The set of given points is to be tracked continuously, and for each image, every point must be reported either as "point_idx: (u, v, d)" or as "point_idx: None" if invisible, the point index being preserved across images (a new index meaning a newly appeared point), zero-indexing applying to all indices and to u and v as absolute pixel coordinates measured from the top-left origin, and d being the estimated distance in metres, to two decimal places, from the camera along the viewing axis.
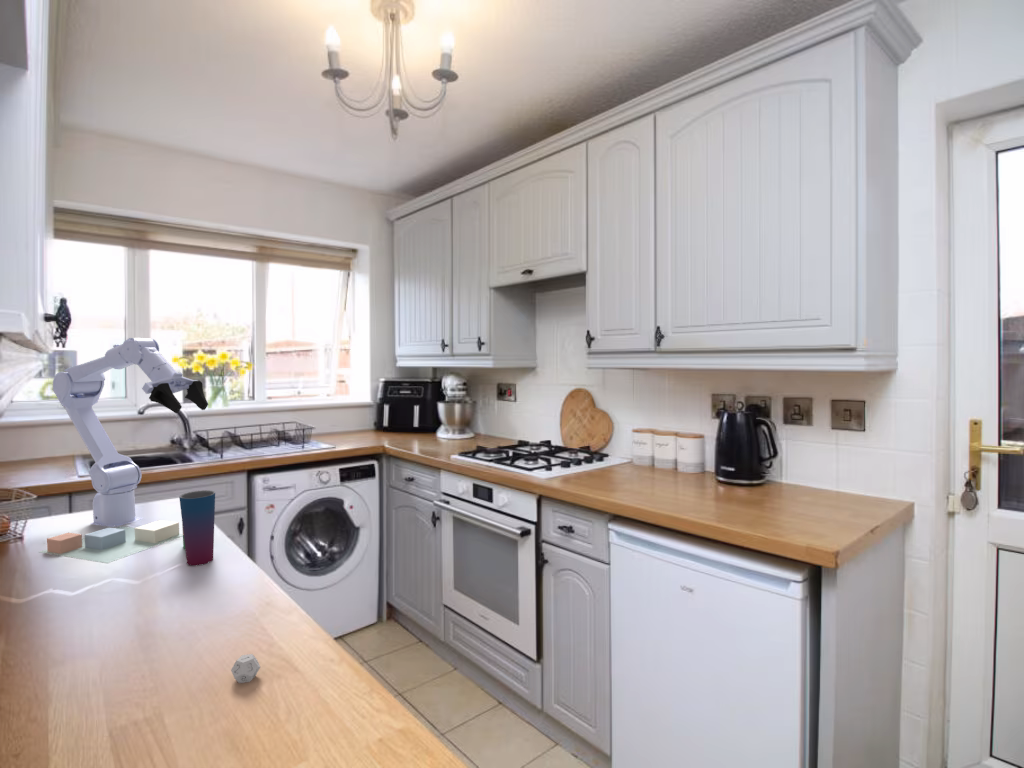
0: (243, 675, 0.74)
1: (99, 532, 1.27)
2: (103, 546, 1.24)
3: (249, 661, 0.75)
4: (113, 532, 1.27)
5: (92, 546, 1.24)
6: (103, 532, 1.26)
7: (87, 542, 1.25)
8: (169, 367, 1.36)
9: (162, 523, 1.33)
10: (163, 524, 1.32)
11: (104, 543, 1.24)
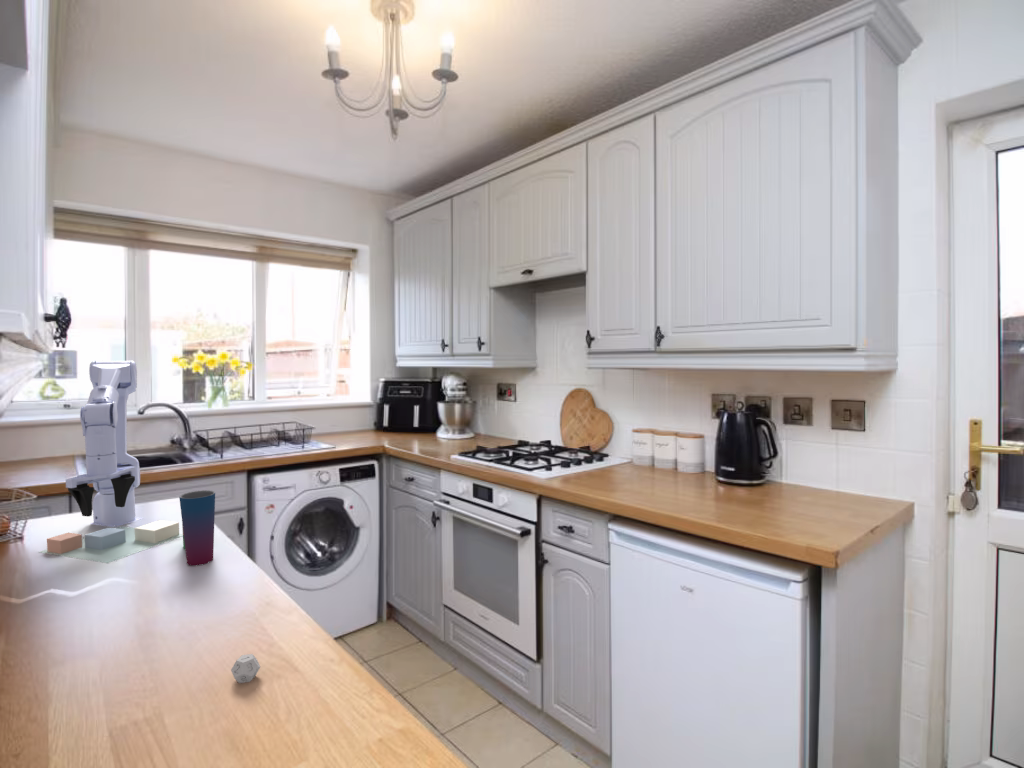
0: (243, 675, 0.74)
1: (99, 532, 1.27)
2: (103, 546, 1.24)
3: (249, 661, 0.75)
4: (113, 532, 1.27)
5: (92, 546, 1.24)
6: (103, 532, 1.26)
7: (87, 542, 1.25)
8: (111, 459, 1.25)
9: (162, 523, 1.33)
10: (163, 524, 1.32)
11: (104, 543, 1.24)
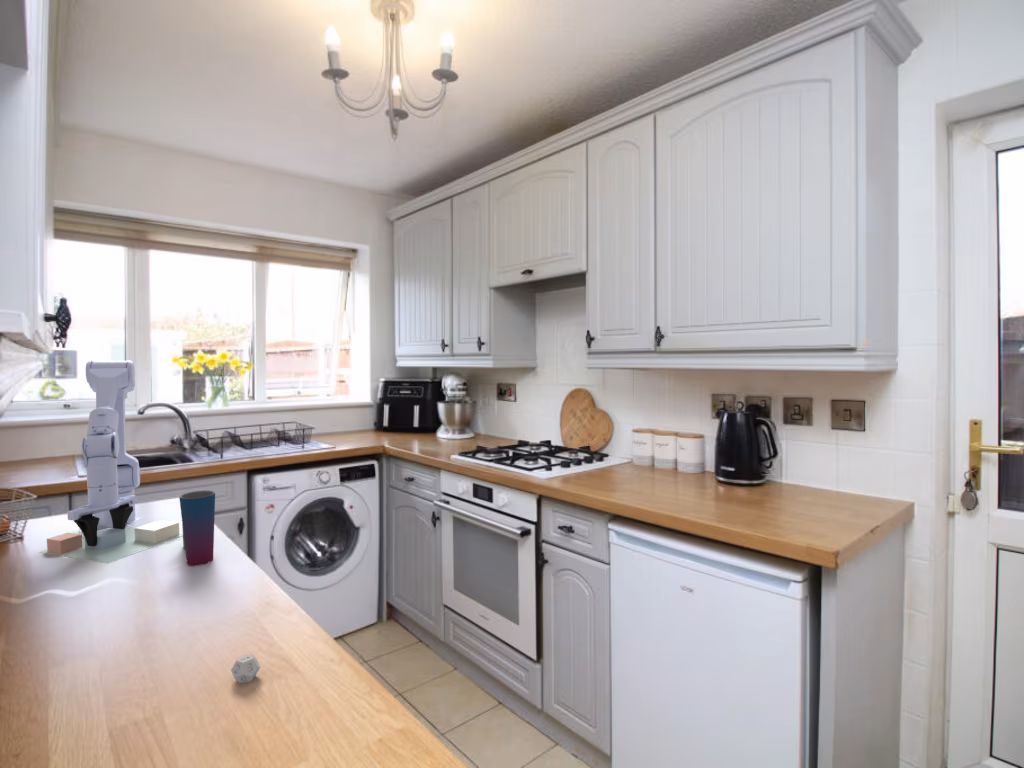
0: (243, 675, 0.74)
1: (99, 532, 1.27)
2: (103, 546, 1.24)
3: (249, 661, 0.75)
4: (113, 532, 1.27)
5: None
6: (103, 532, 1.26)
7: None
8: (112, 490, 1.26)
9: (162, 523, 1.33)
10: (163, 524, 1.32)
11: (104, 543, 1.24)
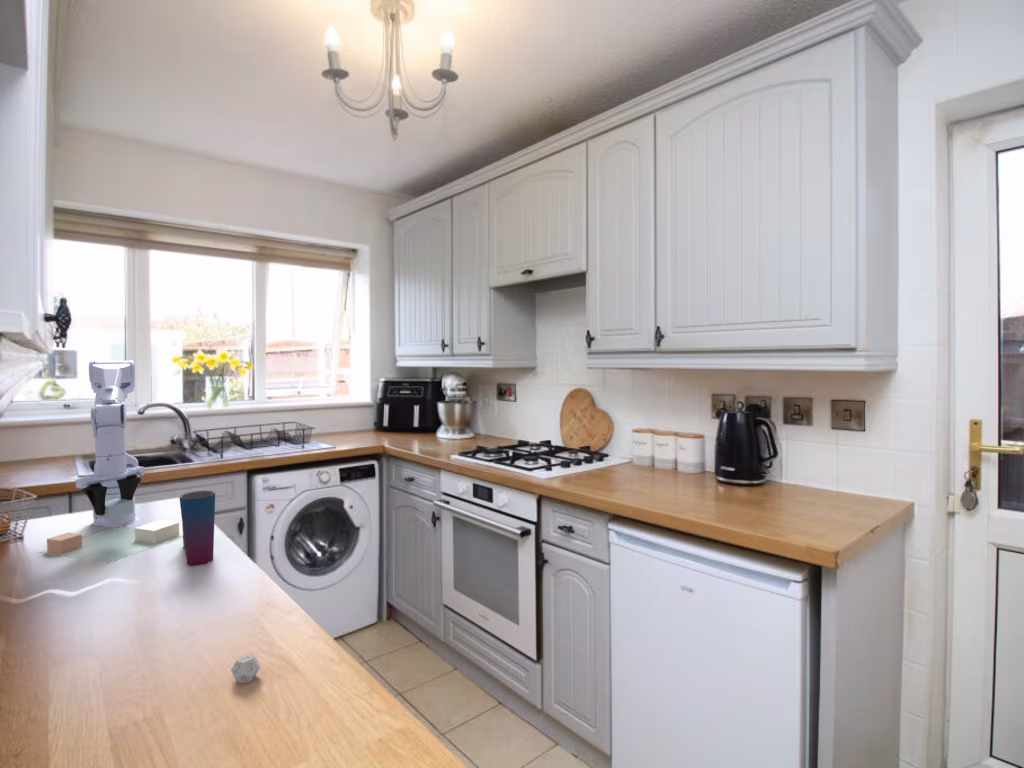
0: (243, 675, 0.74)
1: (107, 502, 1.27)
2: (111, 515, 1.24)
3: (249, 661, 0.75)
4: (121, 502, 1.27)
5: (100, 516, 1.25)
6: (111, 503, 1.27)
7: None
8: (120, 460, 1.26)
9: (162, 523, 1.33)
10: (163, 524, 1.32)
11: (112, 512, 1.24)
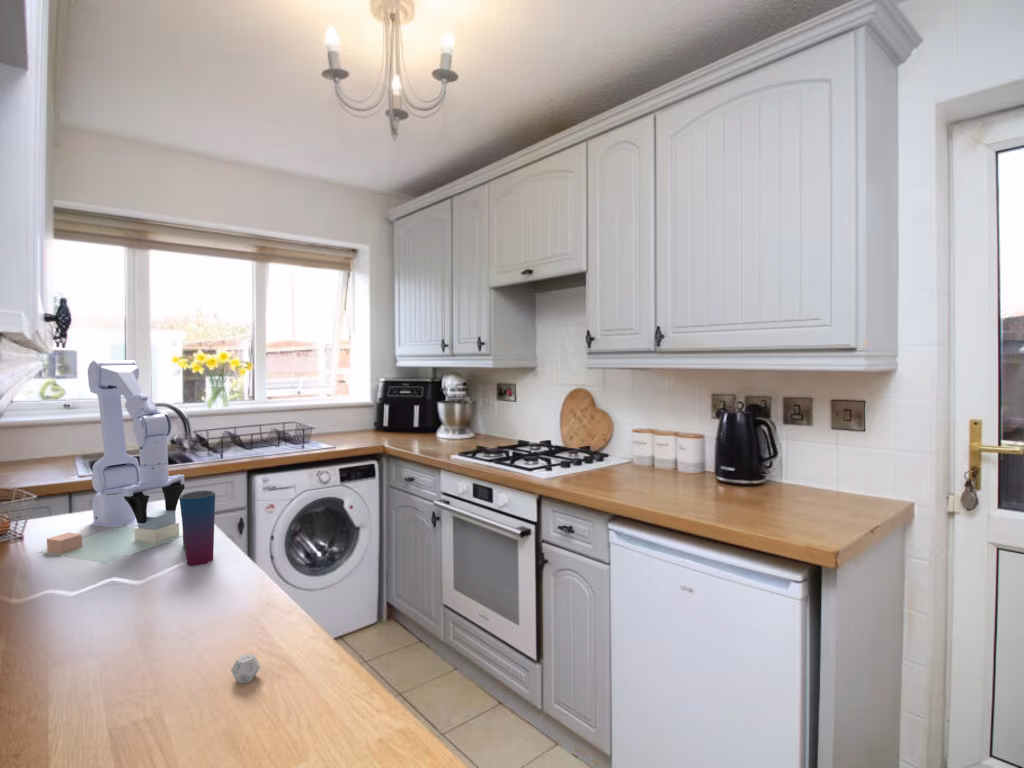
0: (243, 675, 0.74)
1: (151, 513, 1.31)
2: (156, 526, 1.29)
3: (249, 661, 0.75)
4: (164, 513, 1.31)
5: (145, 526, 1.29)
6: (155, 513, 1.31)
7: None
8: (163, 468, 1.30)
9: None
10: None
11: (156, 523, 1.29)
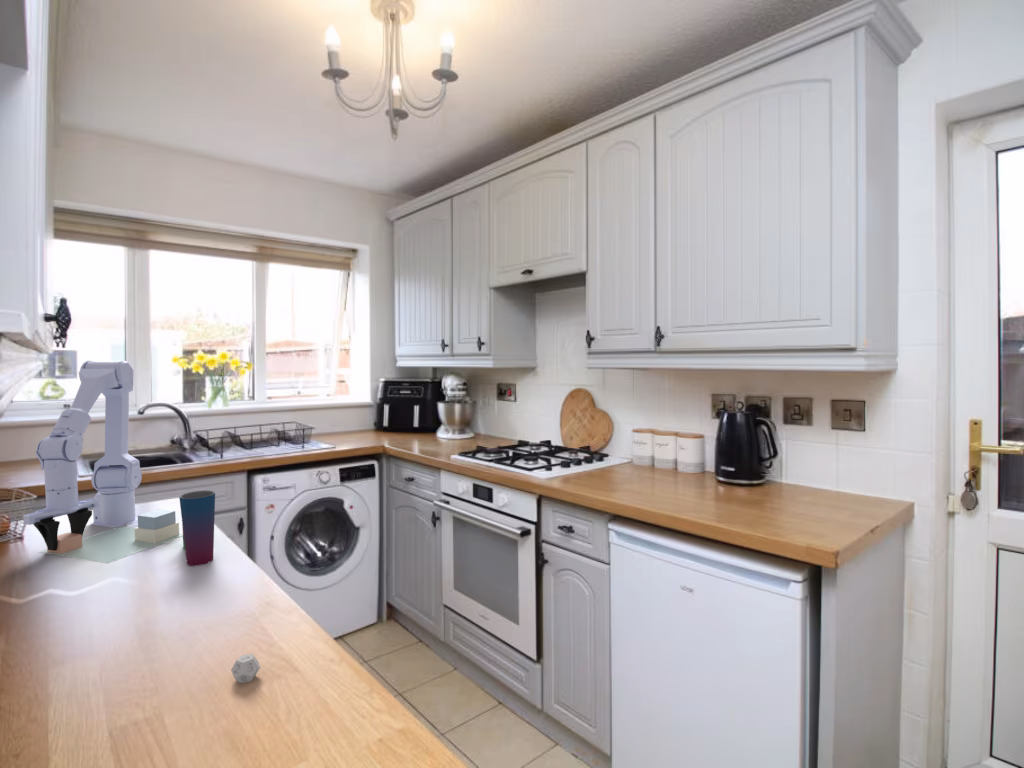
0: (243, 675, 0.74)
1: (151, 513, 1.31)
2: (156, 526, 1.29)
3: (249, 661, 0.75)
4: (164, 513, 1.31)
5: (145, 526, 1.29)
6: (155, 513, 1.31)
7: (140, 522, 1.30)
8: (71, 493, 1.23)
9: None
10: None
11: (156, 523, 1.29)
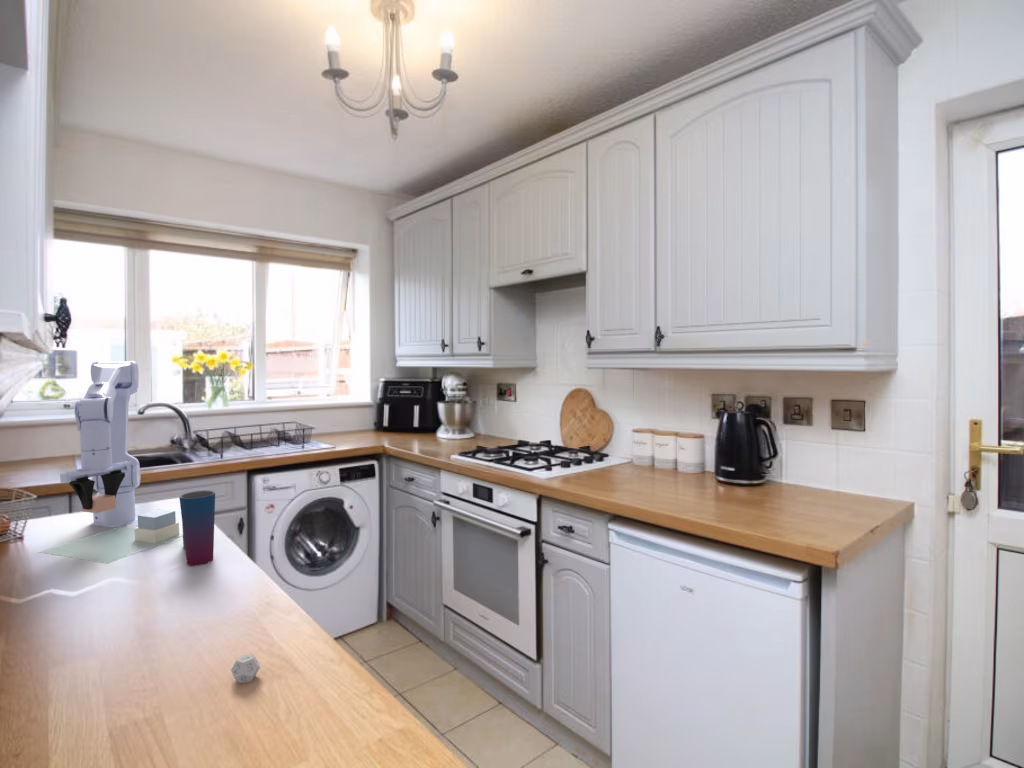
0: (243, 675, 0.74)
1: (151, 513, 1.31)
2: (156, 526, 1.29)
3: (249, 661, 0.75)
4: (164, 513, 1.31)
5: (145, 526, 1.29)
6: (155, 513, 1.31)
7: (140, 522, 1.30)
8: (105, 454, 1.25)
9: None
10: None
11: (156, 523, 1.29)
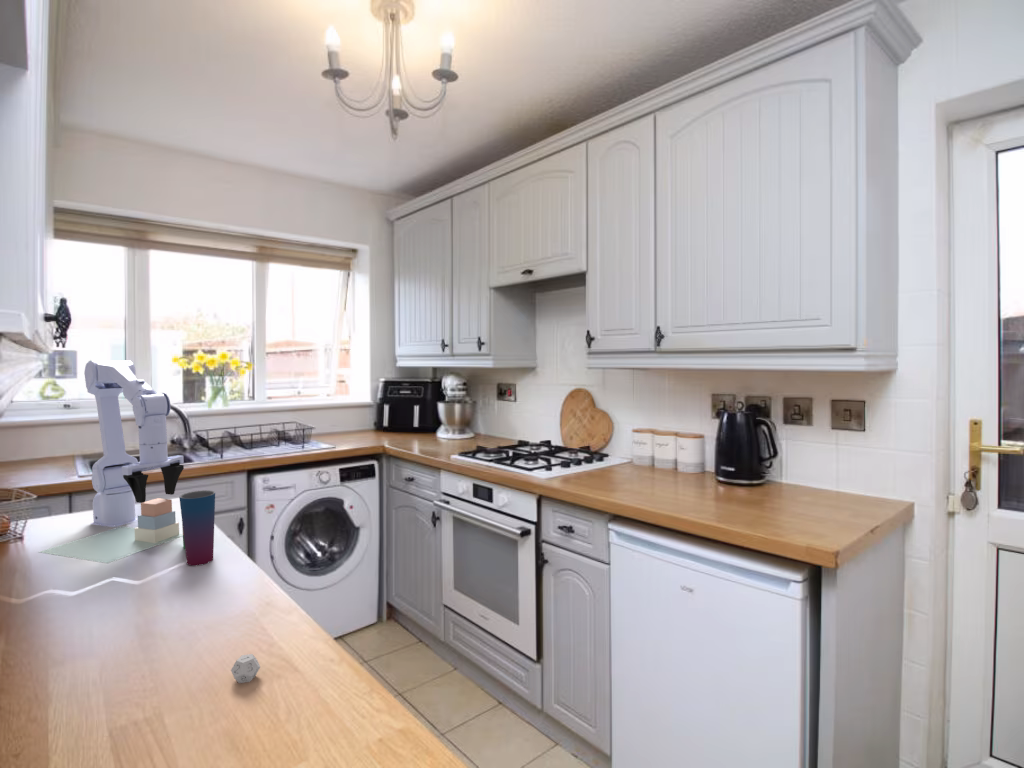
0: (243, 675, 0.74)
1: None
2: (156, 526, 1.29)
3: (249, 661, 0.75)
4: None
5: (145, 526, 1.29)
6: None
7: (140, 522, 1.30)
8: (162, 448, 1.30)
9: None
10: None
11: (156, 523, 1.29)
